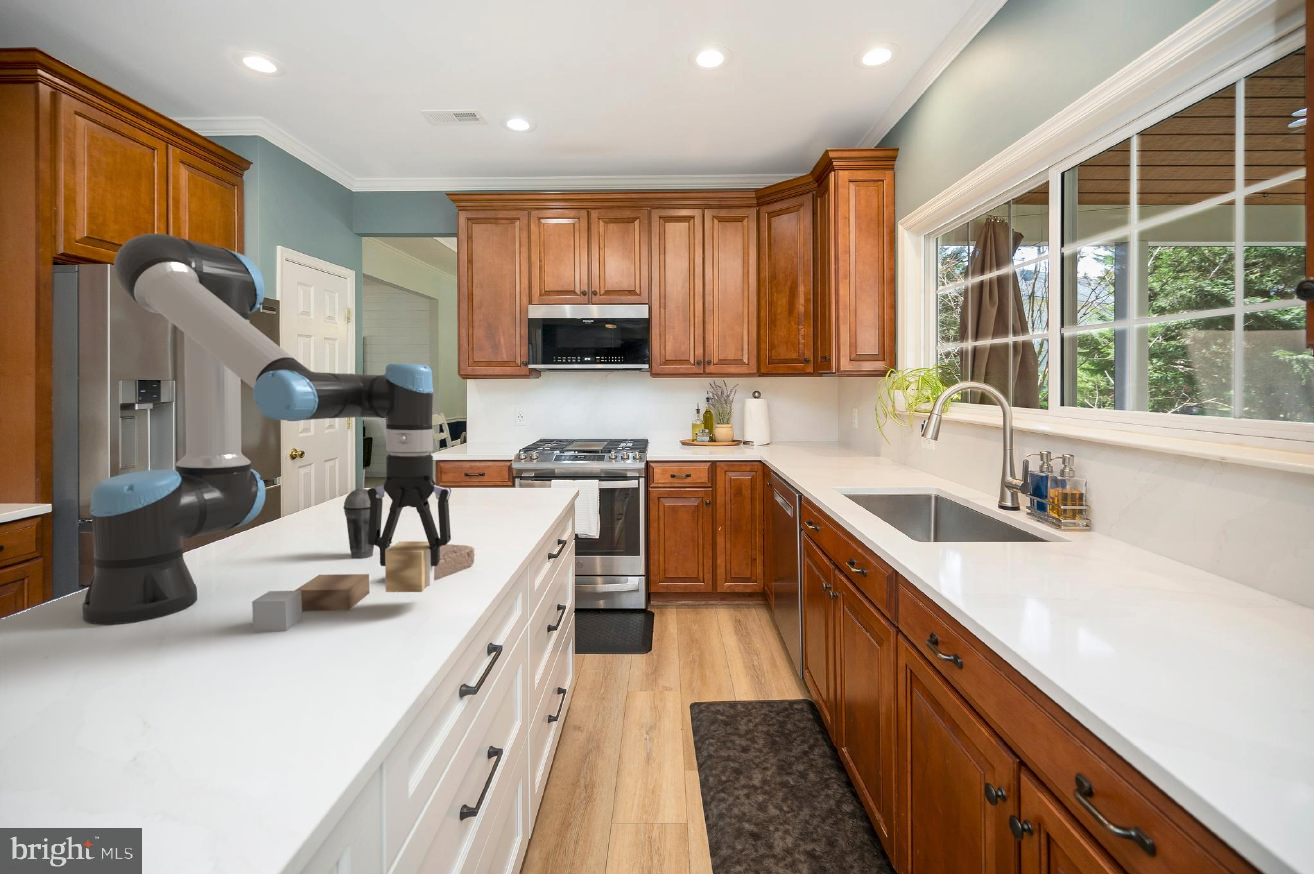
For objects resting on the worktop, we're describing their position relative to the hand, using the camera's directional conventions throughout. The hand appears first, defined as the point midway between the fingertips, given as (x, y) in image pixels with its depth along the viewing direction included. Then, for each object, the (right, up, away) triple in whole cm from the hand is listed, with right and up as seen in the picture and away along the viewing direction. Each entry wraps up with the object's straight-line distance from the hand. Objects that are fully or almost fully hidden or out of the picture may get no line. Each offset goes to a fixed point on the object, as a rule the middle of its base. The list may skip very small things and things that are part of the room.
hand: (410, 583), depth 107 cm
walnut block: (-15, -4, +3) cm, 16 cm away
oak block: (0, 0, 0) cm, 0 cm away
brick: (-3, -3, +21) cm, 21 cm away
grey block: (-18, -5, -8) cm, 20 cm away
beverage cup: (-25, -2, +33) cm, 41 cm away
